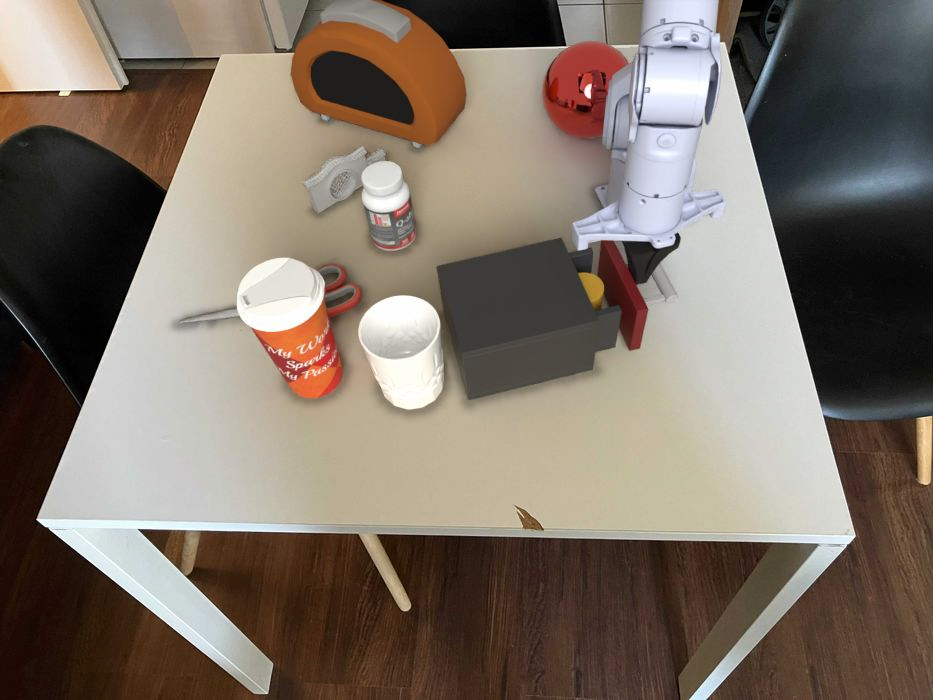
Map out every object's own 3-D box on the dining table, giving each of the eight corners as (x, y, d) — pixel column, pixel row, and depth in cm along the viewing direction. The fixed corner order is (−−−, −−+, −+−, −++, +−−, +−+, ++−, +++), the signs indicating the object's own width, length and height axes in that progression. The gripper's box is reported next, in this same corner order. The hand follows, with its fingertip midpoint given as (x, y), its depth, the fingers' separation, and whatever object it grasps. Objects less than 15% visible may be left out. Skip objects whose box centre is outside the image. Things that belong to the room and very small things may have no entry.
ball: (547, 99, 103) (549, 19, 93) (632, 104, 101) (643, 24, 91) (535, 154, 96) (535, 74, 87) (625, 161, 94) (636, 80, 85)
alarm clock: (300, 116, 105) (266, 6, 91) (334, 82, 109) (307, -29, 95) (439, 159, 97) (425, 45, 84) (470, 119, 102) (461, 5, 88)
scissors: (178, 320, 84) (173, 312, 83) (349, 262, 87) (346, 254, 86) (188, 370, 80) (183, 362, 79) (367, 307, 83) (365, 299, 82)
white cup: (422, 427, 74) (409, 373, 65) (361, 394, 76) (341, 339, 68) (463, 371, 77) (455, 313, 69) (403, 342, 80) (389, 283, 72)
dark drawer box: (559, 289, 83) (561, 237, 76) (592, 370, 76) (599, 320, 69) (444, 316, 82) (436, 265, 75) (468, 400, 75) (462, 353, 68)
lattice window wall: (382, 164, 97) (374, 128, 93) (390, 170, 97) (383, 134, 92) (310, 210, 93) (298, 175, 88) (318, 217, 92) (307, 181, 88)
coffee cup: (292, 420, 75) (247, 335, 63) (268, 363, 80) (221, 274, 67) (366, 386, 77) (335, 297, 65) (338, 333, 81) (304, 240, 69)
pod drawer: (643, 268, 82) (651, 226, 77) (680, 339, 76) (692, 298, 71) (500, 302, 81) (498, 261, 76) (526, 376, 75) (526, 338, 70)
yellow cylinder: (558, 307, 79) (559, 277, 75) (592, 298, 79) (596, 268, 75) (570, 335, 76) (572, 305, 72) (605, 326, 77) (610, 296, 73)
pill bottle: (410, 255, 87) (398, 194, 79) (366, 250, 88) (350, 189, 80) (422, 221, 91) (411, 159, 83) (378, 217, 92) (364, 155, 83)
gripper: (593, 225, 61) (583, 322, 72) (754, 187, 62) (720, 289, 73) (566, 171, 65) (561, 271, 76) (718, 137, 66) (691, 240, 77)
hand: (637, 276), depth 75 cm, fingers closed
